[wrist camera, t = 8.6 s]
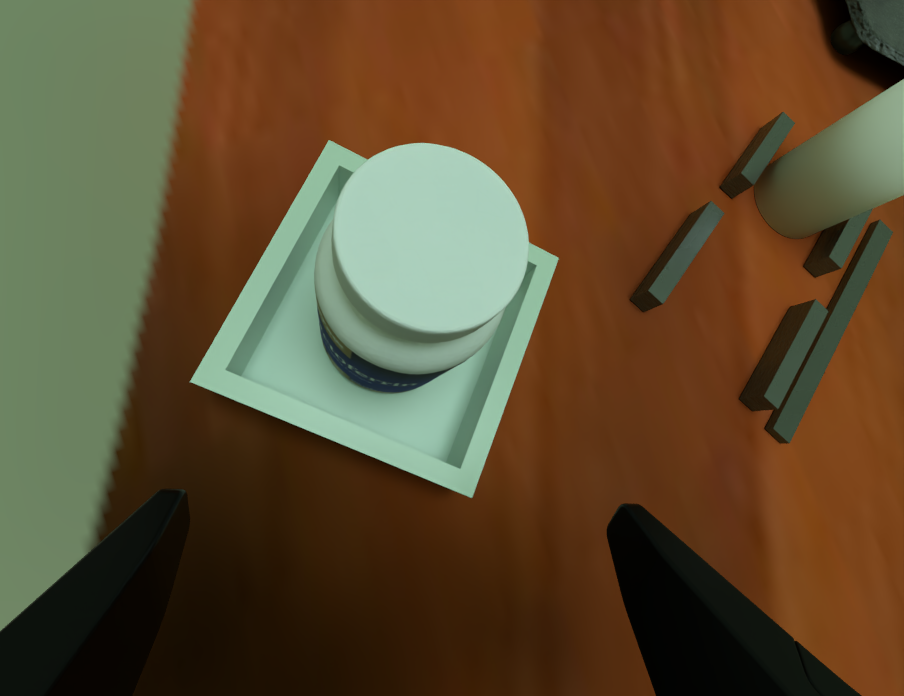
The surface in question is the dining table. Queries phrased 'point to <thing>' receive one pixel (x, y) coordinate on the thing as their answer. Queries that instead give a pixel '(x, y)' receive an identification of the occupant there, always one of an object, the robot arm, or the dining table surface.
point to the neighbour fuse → (837, 170)
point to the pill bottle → (417, 266)
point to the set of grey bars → (805, 325)
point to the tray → (328, 392)
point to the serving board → (872, 28)
